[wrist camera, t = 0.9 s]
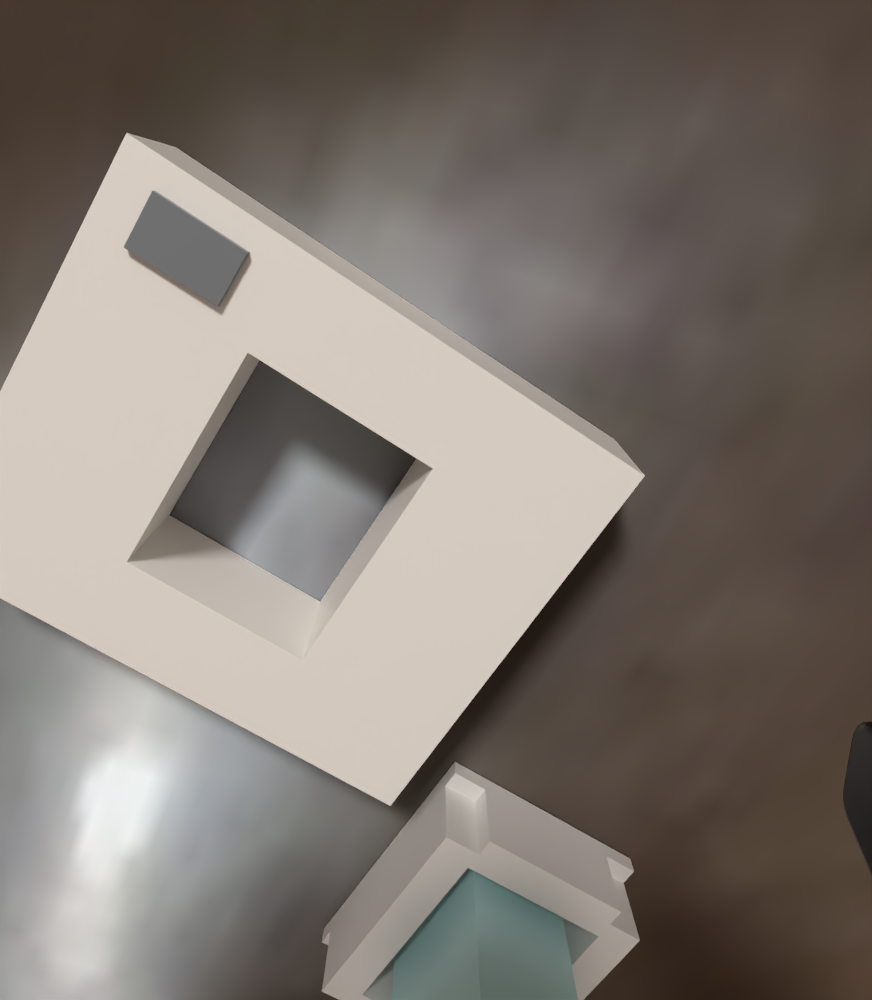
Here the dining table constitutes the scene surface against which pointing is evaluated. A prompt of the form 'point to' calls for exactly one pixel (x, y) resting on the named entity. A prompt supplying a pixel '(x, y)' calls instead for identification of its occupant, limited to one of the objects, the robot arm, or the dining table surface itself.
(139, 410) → the socket block
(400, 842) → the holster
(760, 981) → the dining table surface
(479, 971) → the plug
